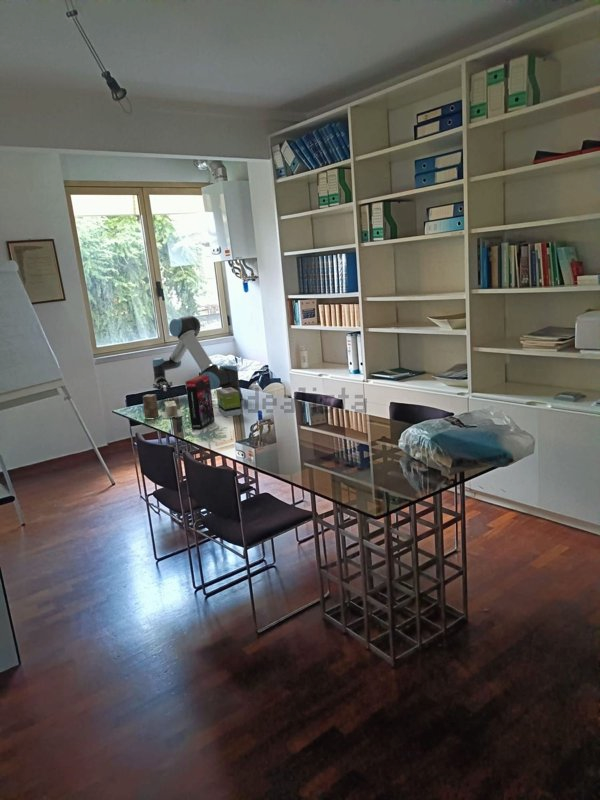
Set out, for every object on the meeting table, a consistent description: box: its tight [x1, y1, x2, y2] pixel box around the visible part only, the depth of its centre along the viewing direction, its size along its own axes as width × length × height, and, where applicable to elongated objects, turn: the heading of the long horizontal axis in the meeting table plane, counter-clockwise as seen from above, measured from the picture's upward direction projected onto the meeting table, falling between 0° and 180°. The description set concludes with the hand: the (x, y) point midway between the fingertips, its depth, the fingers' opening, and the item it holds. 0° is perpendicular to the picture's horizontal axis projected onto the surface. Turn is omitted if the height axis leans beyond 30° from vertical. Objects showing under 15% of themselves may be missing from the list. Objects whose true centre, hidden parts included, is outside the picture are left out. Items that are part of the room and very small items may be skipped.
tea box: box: [215, 387, 242, 418], centre depth 349 cm, size 15×10×15 cm, turn 25°
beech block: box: [164, 400, 178, 417], centre depth 360 cm, size 6×6×16 cm
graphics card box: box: [185, 374, 216, 430], centre depth 325 cm, size 17×7×27 cm, turn 163°
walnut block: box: [142, 393, 160, 419], centre depth 352 cm, size 6×6×14 cm
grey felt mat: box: [160, 409, 184, 419], centre depth 359 cm, size 12×18×1 cm, turn 18°
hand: (165, 389), depth 376 cm, fingers closed
